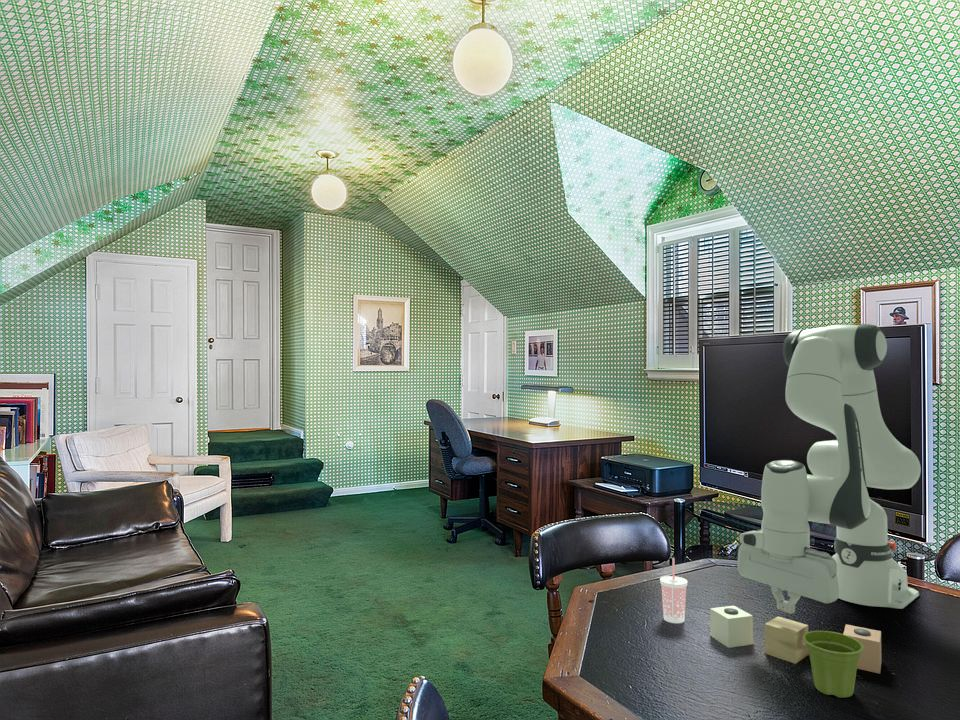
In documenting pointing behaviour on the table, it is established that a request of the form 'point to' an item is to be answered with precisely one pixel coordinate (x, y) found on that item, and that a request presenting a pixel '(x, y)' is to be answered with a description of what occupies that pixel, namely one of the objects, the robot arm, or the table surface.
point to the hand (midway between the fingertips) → (785, 611)
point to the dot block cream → (731, 626)
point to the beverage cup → (673, 597)
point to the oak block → (786, 639)
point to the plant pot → (833, 661)
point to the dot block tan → (867, 647)
